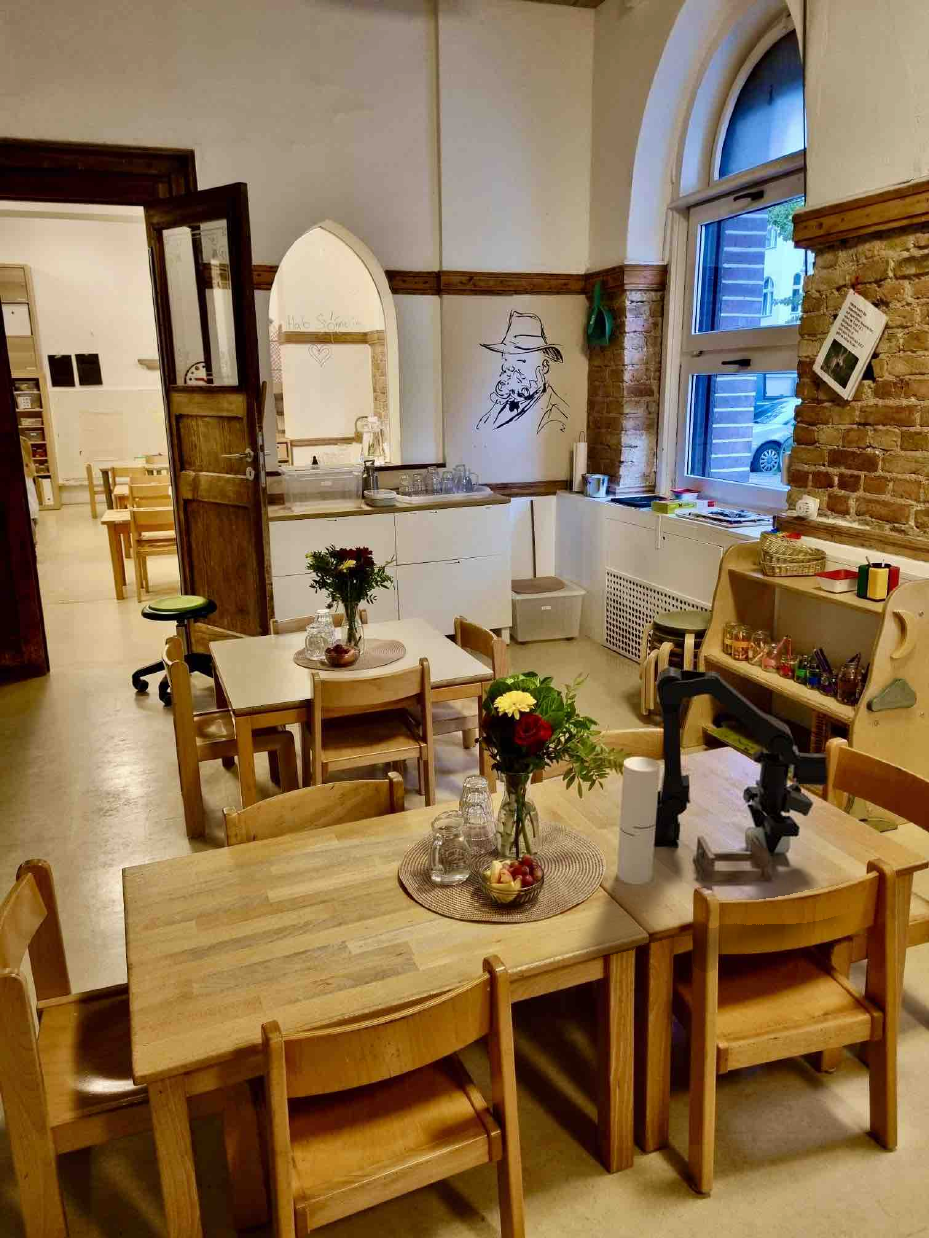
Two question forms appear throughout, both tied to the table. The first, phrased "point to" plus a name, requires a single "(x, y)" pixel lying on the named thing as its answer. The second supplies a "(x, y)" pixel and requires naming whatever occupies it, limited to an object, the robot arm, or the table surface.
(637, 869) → the cylindrical container
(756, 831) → the roll
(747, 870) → the holder
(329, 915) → the table surface
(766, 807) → the robot arm
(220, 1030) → the table surface
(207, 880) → the table surface
